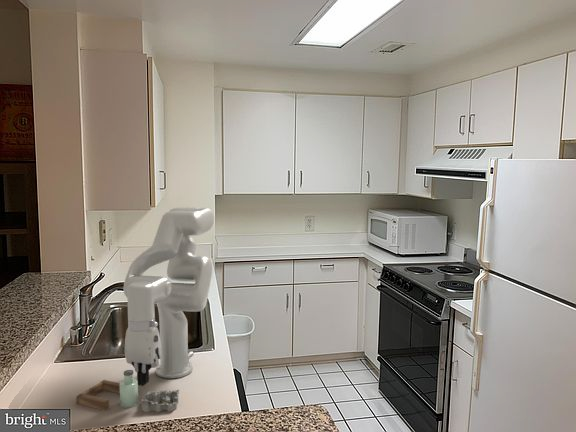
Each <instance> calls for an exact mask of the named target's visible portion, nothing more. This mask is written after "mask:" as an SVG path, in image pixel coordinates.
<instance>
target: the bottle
mask: <svg viewBox="0 0 576 432" xmlns="http://www.w3.org/2000/svg"><path fill="white" fill-rule="evenodd" d="M133 376H134V370H133V369H126V370H124V371H123V378H124V379H123V380H122V381H120V382H119V383H120V393H119V406H120V407H121V408H125V409H126V408H128V409H129V408H133V407H135V406H137V405H138V403H139V385H138V381H137V379H135V378H134V377H133Z"/></svg>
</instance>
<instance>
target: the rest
mask: <svg viewBox="0 0 576 432" xmlns="http://www.w3.org/2000/svg"><path fill="white" fill-rule="evenodd" d="M102 391H106V392H111V393H116V394H120V382H118V381H117V382H116V381H111V380H107V379H103V380H101V381H100V382H98V383H96V384H95V385H92V387H89V388H88V389H86V390H85V391H83V392H81V393H79V394H78V395H76V404H77V405H81V406H85V407H89V408H94V409H98V410H102V411H103V410H104V411H106V410H108V409H109V408H110V399H108V398H104V397H100V396H99V397H98V396H96V395H98V394H99V393H101V392H102Z"/></svg>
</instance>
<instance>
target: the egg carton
mask: <svg viewBox="0 0 576 432" xmlns="http://www.w3.org/2000/svg"><path fill="white" fill-rule="evenodd" d="M179 392H180V390H179V389H176V390H172V391H171V390H169V391H168V390H160V391H156V390H149V391H148V392H146V393H145V394H144V395H143V397H142V399H141V400H140V404H141V412H144V413H149V412H151V411H155V412H156V413H158V412H162V411H167V412H173V411H174V410H177V409H178V404H179V394H180V393H179ZM172 401H173V402H172ZM159 402H161V404H158V403H159Z"/></svg>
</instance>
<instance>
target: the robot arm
mask: <svg viewBox="0 0 576 432" xmlns="http://www.w3.org/2000/svg"><path fill="white" fill-rule="evenodd" d="M214 222H215V216H214V212H213V211H212V209H210V208H208V207H189V206H188V207H184V206H183V207H179V206H178V207H173V208H170V209H169V211H167V212H165V213H164V214H163V215H162V216H161V219H160V222H159V224H158V227H157V230H156V233H155V236H154V239H153V241H152V242H153V243H152V245H151V246H150V247H148V248H147V249H145V250H144V251H143V252H142V253H141V254H139V255H138V256H137V257H136V258H135V259H134V260H133V261H132V262H131V264H130V266H129V268H128V270H127V272H126V275H125V279H124V283H123V290H122V291H123V294H124V296H125V298H127V325H128V327H127V328H126V331H125V338H124V339H125V340H124V357H125V360H126V363H127V364H130V365H131V366H133V368H134V372H136V378H137V379H136V380H137V381H138V387H139V386H140V387H144V386H145V385H147V384H148V383H149V381H150V370H151V369H152V368H155V375H156V376H158V377H159V378H163V379H178V378H183V377H185V376H187V375H190V373H192V371H193V364H192V363H191V362H190V361H189V360H190V358H192V357H193V356H194V355H195V354H194V352H193V351H192V350H191V351H189V346H188V343H189V340H188V339H189V338H188V333H189V332H188V326H189V325H188V319H187V317H186V315H185V314H184V312H202V311H204V310H205V308H206V305H207V302H208V299H209V292H210V287H211V282H212V275H213V263H212V260H211V258H209V256H205V255H197V254H196V248H197V245H196V242H195V240H194V238H193V237H192V236H201V235H203V234H205V233H207V232H209V231H210V230H211V229H212V227H213V225H214ZM166 261H167V262H168V263H167V268H166V277H165V276H161V275H160V276H157V275H156V276H155V275H143V274H144V273H145V272H146V271H148V270H149V269H151V268H152V267H155V266H156V265H160V264H162V263H164V262H166ZM171 281H175V282H171ZM187 282H188V283H187ZM189 282H190V283H189ZM155 303H156V306H157V309H158V319H159V322H157V321H156V317H155V316H156V314H155V313H156V312H155V311H156V310H155ZM158 326H159V329H158ZM159 361H160V362H159Z"/></svg>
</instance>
